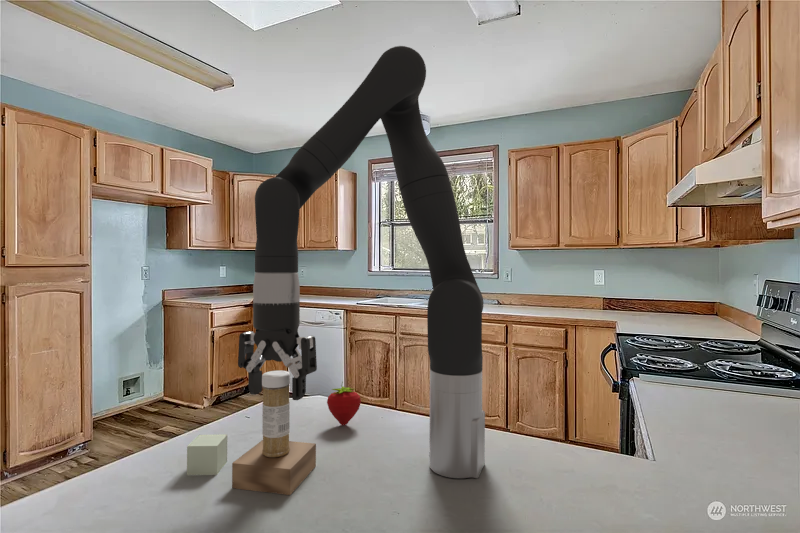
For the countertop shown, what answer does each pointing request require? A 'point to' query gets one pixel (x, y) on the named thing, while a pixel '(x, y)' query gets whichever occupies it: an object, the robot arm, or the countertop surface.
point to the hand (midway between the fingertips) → (276, 396)
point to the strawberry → (343, 404)
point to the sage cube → (206, 455)
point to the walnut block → (274, 469)
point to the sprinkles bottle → (276, 413)
